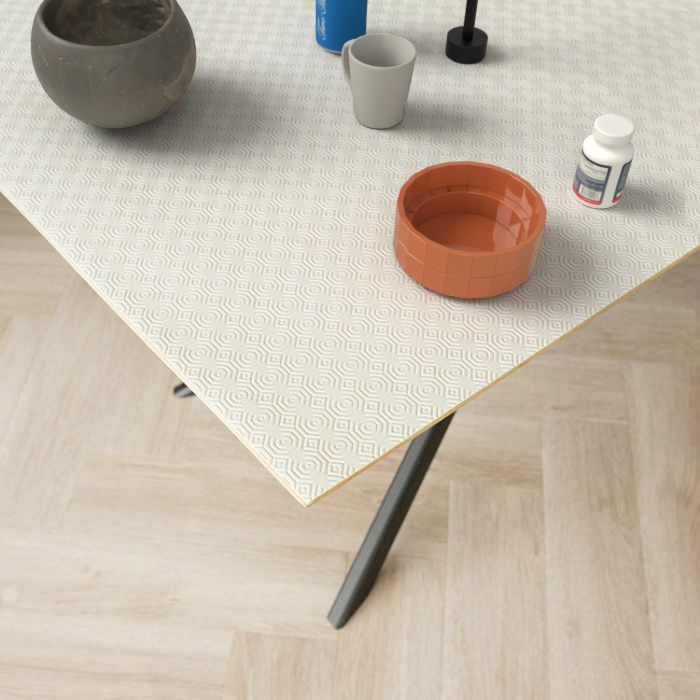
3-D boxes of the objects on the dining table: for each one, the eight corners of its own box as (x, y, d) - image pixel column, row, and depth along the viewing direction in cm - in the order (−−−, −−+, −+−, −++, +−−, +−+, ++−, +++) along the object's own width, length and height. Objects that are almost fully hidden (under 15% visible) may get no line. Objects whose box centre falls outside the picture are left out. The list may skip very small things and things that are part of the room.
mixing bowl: (540, 219, 95) (551, 173, 91) (528, 314, 86) (540, 267, 81) (407, 198, 97) (411, 151, 93) (381, 288, 88) (384, 241, 83)
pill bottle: (608, 177, 100) (629, 107, 94) (628, 206, 97) (650, 136, 90) (563, 182, 100) (581, 112, 93) (581, 212, 96) (601, 142, 90)
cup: (378, 143, 103) (382, 76, 97) (319, 105, 108) (319, 39, 102) (424, 117, 107) (431, 51, 101) (365, 82, 112) (368, 17, 105)
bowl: (186, 59, 114) (174, -41, 105) (216, 141, 103) (206, 37, 93) (40, 79, 110) (14, -22, 101) (55, 167, 99) (28, 61, 89)
